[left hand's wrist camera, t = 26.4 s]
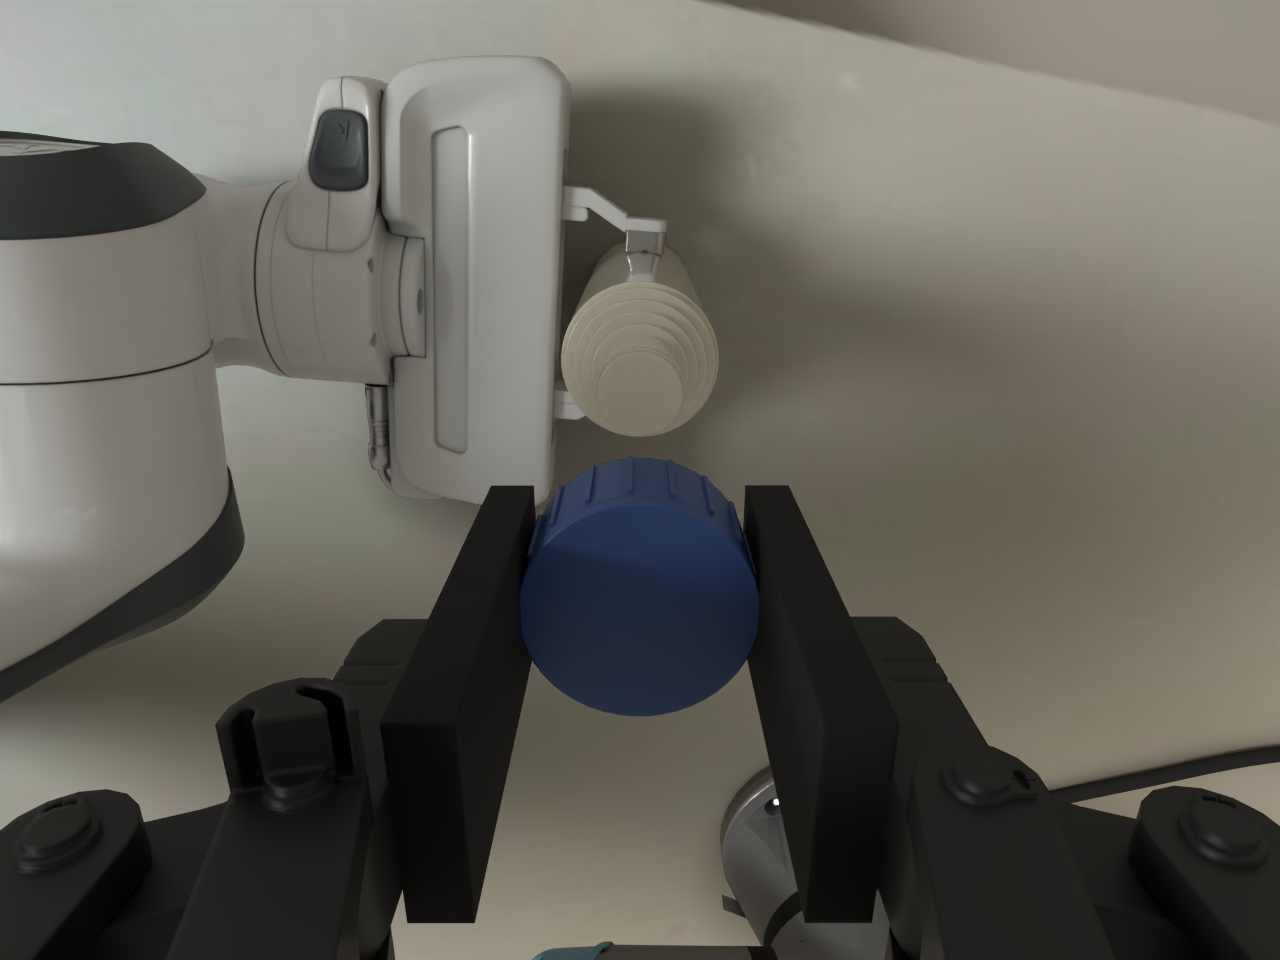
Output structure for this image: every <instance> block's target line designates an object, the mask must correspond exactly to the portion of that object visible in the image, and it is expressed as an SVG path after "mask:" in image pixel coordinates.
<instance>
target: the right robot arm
mask: <svg viewBox="0 0 1280 960" xmlns="http://www.w3.org/2000/svg"><path fill="white" fill-rule="evenodd" d="M570 113H571V85H570V83H569V81H568V79H567V78H566V76H565V75H564V74H563V72H562V71H561V70H560V69H559V68H558V67H557V66H556V65H555V64H554V63H553V62H552V61H550V60H548V59H545V58H540V57H530V56H510V55H484V56H463V57H452V58H442V59H434V60H427V61H423V62H419V63H416V64H413V65H411V66H409V67H407V68H405V69H403V70H402V71H400V72H399V73H398V74H397V75H396V76H395V77H394V78H393V79H392V80H391V81H390V83H389V84H388V83H385V82H383V81H380V80H376V79H372V78H367V77H359V76H341V77H335V78H331V79H329V80H327V81H326V82H325V83H324V84H323V86H322V87H321V90H320V92H319V95H318V99H317V102H316V106H315V111H314V115H313V119H312V124H311V128H310V132H309V136H308V140H307V144H306V149H305V153H304V157H303V160H302V164H301V168H300V172H299V175H298V179H297V182H296V181H275V182H270V183H266V184H262V185H257V186H234V185H230V184H226V183H223V182H220V181H217V180H215V179H212V178H210V177H207V176H204V175H200V174H195V173H191V172H189V171H188V170H187V169H186V168H184V167H183V166H182V165H180V164H179V163H177V162H176V161H174V160H173V159H172V158H170V157H169V156H167V155H166V154H164V153H163V152H162V151H160V150H159V149H157V148H156V147H154V146H153V145H151V144H147V143H138V142H130V143H116V144H111V143H100V142H90V141H81V140H73V139H65V138H59V137H52V136H45V135H38V134H30V133H21V132H10V131H0V703H2V702H3V701H5V700H7V699H9V698H10V697H12V696H14V695H16V694H17V693H19V692H21V691H23V690H24V689H26V688H28V687H30V686H31V685H33V684H35V683H37V682H39V681H40V680H42V679H44V678H46V677H47V676H49V675H51V674H53V673H54V672H56V671H58V670H60V669H61V668H63V667H65V666H67V665H69V664H71V663H72V662H74V661H76V660H78V659H81V658H83V657H85V656H87V655H90V654H92V653H95V652H98V651H100V650H103V649H106V648H108V647H111V646H114V645H117V644H120V643H122V642H125V641H128V640H131V639H133V638H136V637H139V636H141V635H144V634H146V633H149V632H151V631H154V630H156V629H159V628H161V627H163V626H165V625H167V624H169V623H171V622H173V621H175V620H177V619H179V618H180V617H182V616H183V615H185V614H186V613H188V612H189V611H191V610H192V609H193V608H195V607H196V606H197V605H198V604H199V603H201V602H202V601H203V600H204V599H205V598H206V597H207V596H208V595H209V594H210V593H211V592H212V591H213V590H214V589H215V588H216V587H217V586H218V585H219V583H220V582H221V581H222V580H223V579H224V578H225V576H226V575H227V574H228V572H229V571H230V570H231V568H232V567H233V566H234V564H235V563H236V562H237V560H238V558H239V557H240V555H241V552H242V550H243V546H244V540H245V537H244V531H243V526H242V522H241V517H240V513H239V508H238V504H237V499H236V494H235V490H234V485H233V481H232V476H231V472H230V469H229V467H228V466H227V461H226V453H225V445H224V436H223V428H222V420H221V411H220V403H219V395H218V386H217V378H216V370H215V369H216V368H221V367H225V366H231V365H245V366H252V367H257V368H260V369H263V370H265V371H268V372H270V373H273V374H276V375H279V376H285V377H291V378H303V379H316V380H328V381H341V382H355V383H365V387H366V388H365V395H366V410H367V418H368V424H369V432H370V442H369V445H368V455H369V461H370V465H371V467H372V468H373V469H375V470H378V473H379V476H380V478H381V480H382V481H383V483H384V484H385V485H386V486H387V487H388V488H389V489H390V490H392V492H393V493H394V494H396V495H398V496H401V497H405V498H416V499H429V500H434V499H441V498H445V497H447V498H451V499H455V500H460V501H464V502H469V503H474V504H479V505H482V504H483V502H484V499H485V497H486V495H487V493H488V491H489V489H490V487H491V486H509V485H534V496H535V506H537V505H538V504H540V503H541V502H543V501H544V500H546V499H547V498H548V496H549V494H550V491H551V488H552V484H553V479H554V469H555V447H556V425H557V418H558V419H571V420H578V419H580V418H582V417H584V416H586V415H585V414H584V413H583V412H582V411H581V410H580V409H579V408H578V406H577V405H576V404H575V402H574V401H573V399H572V398H571V396H570V394H569V392H568V389H567V387H566V385H565V381H564V380H560V379H559V358H560V336H561V314H562V292H563V269H564V247H565V225H566V220H572V221H586V220H587V219H588V218H589V217H590V211H591V209H592V210H593V211H594V212H596V213H597V214H599V215H600V216H602V217H603V218H604V219H606V220H607V221H609V222H610V223H612V224H613V225H614V226H616V227H617V228H619V229H620V230H622V231H623V232H624V233H625V232H626V244H625V252H633V253H641V252H642V251H644V250H646V251H647V252H648V253H651V254H658V255H661V254H664V247H665V237H666V226H667V220H666V219H660V218H649V217H637V216H628V213H627V212H626V211H624V210H623V209H622V208H620V207H619V206H617V205H616V204H615V203H613V202H612V201H610V200H609V199H608V198H606V197H605V196H603V195H602V194H601V193H599V192H598V191H597V190H595V189H594V188H592V187H581V186H570V185H567V180H568V158H569V136H570ZM389 468H390V470H391V478H390V477H389V475H388V474H387V471H386V469H389Z"/></svg>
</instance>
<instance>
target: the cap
mask: <svg viewBox="0 0 1280 960" xmlns="http://www.w3.org/2000/svg"><path fill="white" fill-rule="evenodd" d="M526 557H528V561H527V565H526V569H525V572H524V576H523V579H522V583H521V587H520V609H521V626H522V639H523V642H524V644H525V647H526V649H527V651H528V653H529V655H530V657H531V658H532V660H533V662H534V664H535V665H536V666H537V668H538V669H539V670H540V672H541V673H542V674H543V675H544V676H545V677H546V678H547V679H548V680H549V681H550V682H551V683H552V684H553V685H554V686H555V687H557V688H558V689H559V690H560V691H562V692H563V693H564V694H566V695H567V696H569V697H571V698H572V699H574V700H576V701H578V702H580V703H582V704H584V705H586V706H588V707H591V708H594V709H597V710H600V711H603V712H608V713H612V714H617V715H626V716H653V715H661V714H666V713H671V712H675V711H679V710H681V709H684V708H687V707H690V706H692V705H695V704H697V703H699V702H701V701H703V700H705V699H706V698H708V697H709V696H711V695H713V694H714V693H716V692H717V691H718V690H720V689H721V688H722V687H723V686H724V685H726V684H727V683H728V682H729V681H730V680H731V679H732V678H733V677H734V676H735V675H736V674H737V672H738V671H739V670H740V668H741V667H742V666H743V664H744V663H745V661H746V660H747V658H748V656H749V654H750V652H751V650H752V648H753V646H754V643H755V640H756V638H757V632H758V617H759V598H760V593H759V589H758V585H757V581H756V570H755V567H754V563H753V560H752V556H751V553H750V549H749V546H748V542H747V539H746V535H745V534H743V532H742V528H741V525H740V522H739V520H738V518H737V514H736V511H735V507H734V504H733V502H732V501H730V502H728V500H727V499H726V498H725V497H724V495H723V494H722V493H721V492H720V491H719V490H718V489H717V488H716V487H715V486H714V485H713V484H712V483H711V482H709V481H708V477H706V476H705V475H704V476H703V477H702V476H701V475H699V474H697V473H696V472H694V471H692V470H690V469H688V468H686V467H683V466H681V465H678V464H675V463H673V461H672V460H668V461H664V460H660V459H651V458H633V456H629V457H628V458H627V459H620V460H614V461H611V462H607V463H603V464H600V465H598V466H595V465H592V466H590V469H588V470H587V471H585V472H583V473H581V474H579V475H578V476H576V477H575V478H574V479H572V480H571V481H570V482H568V483H567V484H566V485H565V486H564V487H563V486H562V485H561V486H560V487H559V488H558V491H557V494H556V495H555V496H554V497H553V499H552V500H551V501H550V503H549V504H548V506H547V507H546V509H545V511H544V513H543V514H542V515H540V514H539V515H538V517H537V521H536V524H535V528H534V531H533V534H532V538H531V541H530V545H529V548H528V552H527V555H526Z"/></svg>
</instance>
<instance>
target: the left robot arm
mask: <svg viewBox="0 0 1280 960" xmlns="http://www.w3.org/2000/svg"><path fill="white" fill-rule="evenodd" d="M535 524H536V516H535V496H534V485H509V486H491V487H490V489H489V491H488V493H487V495H486V497H485V499H484V502H483V504H482V506H481V508H480V510H479V512H478V514H477V517H476V519H475V521H474V523H473V525H472V527H471V529H470V531H469V534H468V536H467V538H466V540H465V542H464V544H463V546H462V549H461V551H460V553H459V555H458V557H457V559H456V561H455V563H454V566H453V568H452V570H451V572H450V574H449V576H448V578H447V581H446V583H445V585H444V587H443V589H442V591H441V593H440V595H439V598H438V600H437V602H436V604H435V606H434V608H433V610H432V613H431V615H430V617H429V619H383V620H382V621H381V622H379V623H378V624H377V625H375V626H374V627H373V628H371V629H370V630H369V631H367V632H366V633H365V634H363V635H362V636H361V637H359V638H358V639H357V640H356V642H355V644H354V645H353V647H352V649H351V650H350V652H349V654H348V655H347V657H346V659H345V660H344V666H341V667H340V669H339V670H338V672H337V674H336V675H335V677H334V679H333V680H329V679H326V678H299V679H294V680H289V681H284V682H279V683H274V684H272V685H269V686H267V687H265V688H262V689H260V690H257V691H255V692H252V693H250V694H248V695H247V696H245V697H244V698H242V699H241V700H239V701H238V702H237V703H235V704H234V705H232V706H231V707H229V708H228V709H227V710H226V712H225V713H224V714H223V716H222V717H221V718H220V719H219V721H218V722H217V723H216V725H215V726H216V731H217V735H218V739H219V744H220V748H221V752H222V757H223V761H224V766H225V770H226V774H227V779H228V783H229V787H230V792H231V793H230V796H229V798H228V801H226V802H224V803H221V804H218V805H215V806H211V807H208V808H205V809H201V810H197V811H192V812H188V813H184V814H179V815H175V816H170V817H166V818H162V819H157V820H153V821H148V822H144V821H143V817H142V814H141V810H140V807H139V805H138V804H137V803H136V802H135V801H134V800H133V799H132V798H131V797H130V796H129V795H128V794H126V793H121V792H116V791H112V790H107V789H105V790H94V791H84V792H77V793H74V794H71V795H67V796H64V797H61V798H58V799H55V800H51V801H48V802H46V803H44V804H42V805H40V806H38V807H36V808H34V809H32V810H30V811H28V812H27V813H25V814H23V815H21V816H19V817H17V818H16V819H14V820H13V821H12V822H10V823H9V824H8V825H7V826H5V827H4V828H3V829H1V830H0V960H395V954H394V946H393V939H392V933H391V923H392V920H393V917H394V914H395V911H396V908H397V905H398V902H399V898H400V895H401V892H402V889H403V895H404V902H405V909H406V916H407V923H475V919H476V914H477V910H478V905H479V901H480V896H481V891H482V887H483V882H484V878H485V873H486V869H487V864H488V859H489V855H490V850H491V846H492V841H493V837H494V832H495V827H496V823H497V818H498V814H499V809H500V805H501V800H502V795H503V791H504V786H505V782H506V777H507V772H508V768H509V763H510V759H511V754H512V750H513V745H514V740H515V736H516V731H517V727H518V722H519V718H520V713H521V708H522V704H523V699H524V695H525V690H526V685H527V681H528V676H529V672H530V667H531V663H532V658H531V657H530V655H529V653H528V651H527V649H526V647H525V644H524V642H523V639H522V626H521V609H520V587H521V583H522V579H523V576H524V572H525V569H526V565H527V561H528V557H526V555H527V552H528V548H529V545H530V541H531V538H532V534H533V531H534V528H535ZM743 534H745V535H746V539H747V542H748V546H749V549H750V553H751V556H752V560H753V563H754V567H755V570H756V581H757V585H758V589H759V593H760V598H759V617H758V632H757V638H756V640H755V643H754V646H753V648H752V650H751V652H750V654H749V656H748V658H747V660H748V665H749V669H750V674H751V679H752V683H753V688H754V692H755V697H756V702H757V706H758V711H759V715H760V720H761V724H762V729H763V734H764V738H765V743H766V747H767V752H768V756H769V761H770V766H768V767H767V768H765V769H764V770H762V771H760V772H759V773H758V774H756V775H755V776H754V777H753V778H751V779H750V780H749V781H748V782H747V783H746V784H745V785H744V786H743V787H742V788H741V789H740V790H739V791H738V793H737V794H736V796H735V797H734V798H733V800H732V801H731V803H730V805H729V807H728V809H727V811H726V813H725V816H724V819H723V823H722V828H721V839H720V841H721V851H722V859H723V867H724V872H725V876H726V879H727V881H728V884H729V886H730V888H731V890H732V892H733V894H734V896H735V898H736V899H737V900H734V899H732V898H729V897H727V896H724V895H722V900H723V908H724V910H727V911H729V912H732V913H734V914H737V915H739V916H742V917H745V918H747V920H748V922H749V923H750V925H751V927H752V929H753V931H754V933H755V934H756V936H757V938H758V940H759V942H760V944H761V945H762V946H675V945H615V944H613V943H612V942H608V941H607V942H602V943H600V944H598V945H597V946H590V947H572V948H554V949H549V950H546V951H544V952H542V953H540V954H538V955H537V956H535V957H534V958H533V959H532V960H1280V826H1279V825H1278V824H1276V823H1275V822H1274V821H1272V820H1271V819H1270V818H1268V817H1267V816H1266V815H1264V814H1263V813H1261V812H1259V811H1257V810H1255V809H1253V808H1251V807H1249V806H1247V805H1245V804H1243V803H1242V802H1240V801H1238V800H1236V799H1234V798H1231V797H1228V796H1225V795H1222V794H1218V793H1215V792H1212V791H1208V790H1205V789H1202V788H1192V787H1181V786H1171V787H1166V788H1161V789H1157V790H1153V791H1152V792H1151V793H1150V794H1149V795H1148V796H1147V797H1145V798H1144V799H1143V800H1142V801H1141V804H1140V808H1139V811H1138V815H1137V819H1133V818H1129V817H1124V816H1120V815H1116V814H1111V813H1107V812H1102V811H1098V810H1093V809H1089V808H1085V807H1080V806H1077V805H1073V804H1070V803H1074V802H1078V801H1083V800H1088V799H1092V798H1097V797H1102V796H1107V795H1112V794H1117V793H1122V792H1127V791H1132V790H1136V789H1141V788H1146V787H1151V786H1155V785H1160V784H1165V783H1169V782H1174V781H1178V780H1183V779H1187V778H1192V777H1197V776H1201V775H1206V774H1211V773H1216V772H1220V771H1226V770H1231V769H1236V768H1242V767H1248V766H1254V765H1261V764H1268V763H1276V762H1280V746H1279V747H1270V748H1262V749H1256V750H1249V751H1243V752H1237V753H1231V754H1226V755H1220V756H1215V757H1210V758H1206V759H1201V760H1196V761H1192V762H1187V763H1183V764H1178V765H1174V766H1169V767H1165V768H1160V769H1155V770H1151V771H1146V772H1141V773H1137V774H1132V775H1127V776H1122V777H1118V778H1113V779H1108V780H1103V781H1098V782H1093V783H1089V784H1084V785H1079V786H1075V787H1070V788H1065V789H1061V790H1057V791H1052V792H1049V790H1048V789H1047V787H1046V786H1045V784H1044V783H1043V781H1042V780H1041V778H1040V777H1039V775H1038V774H1037V773H1036V772H1034V771H1033V770H1032V769H1031V768H1029V767H1028V766H1027V765H1026V764H1024V763H1023V762H1022V761H1021V760H1019V759H1018V758H1016V757H1014V756H1012V755H1010V754H1008V753H1005V752H1003V751H1001V750H999V749H997V748H995V747H992V746H988V744H987V742H986V741H985V739H984V738H983V736H982V734H981V733H980V731H979V729H978V728H977V726H976V724H975V723H974V721H973V719H972V718H971V716H970V714H969V713H968V711H967V709H966V708H965V706H964V704H963V703H962V701H961V699H960V698H959V696H958V694H957V693H956V691H955V689H954V688H953V686H952V685H951V683H948V681H947V676H946V675H945V673H944V671H943V670H942V668H941V666H940V665H939V663H936V658H935V656H934V655H933V653H932V651H931V650H930V648H929V646H928V645H927V643H926V641H925V640H924V638H923V636H921V635H920V634H919V633H917V632H916V631H915V630H913V629H912V628H911V627H909V626H908V625H907V624H905V623H904V622H903V621H901V620H900V619H899V618H897V617H850V616H849V614H848V612H847V609H846V607H845V605H844V603H843V601H842V599H841V597H840V595H839V592H838V590H837V588H836V586H835V584H834V582H833V580H832V577H831V575H830V573H829V571H828V569H827V567H826V565H825V563H824V560H823V558H822V556H821V554H820V552H819V550H818V548H817V545H816V543H815V541H814V539H813V537H812V535H811V533H810V530H809V528H808V526H807V524H806V522H805V520H804V518H803V516H802V513H801V511H800V509H799V507H798V505H797V503H796V501H795V498H794V496H793V494H792V492H791V490H790V488H789V486H745V506H744V525H743Z"/></svg>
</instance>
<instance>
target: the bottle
mask: <svg viewBox="0 0 1280 960" xmlns="http://www.w3.org/2000/svg"><path fill="white" fill-rule="evenodd" d="M625 244H626V241H624V242H621V243H619V244H617V245H615V246H613V247H612V248H610V249H609V250H608V251H607V252H606V253H605V254H604V255H603V256H602V257H601V258H600V259H599V261H598V262H597V264H596V266H595V268H594V270H593V272H592V274H591V277H590V279H589V281H588V283H587V286H586V288H585V290H584V292H583V295H582V297H581V299H580V301H579V304H578V306H577V308H576V310H575V313H574V315H573V317H572V319H571V322H570V324H569V326H568V329H567V331H566V334H565V336H564V341H563V345H562V352H561V367H562V373H563V378H564V381H565V385H566V387H567V389H568V392H569V394H570V396H571V398H572V399H573V401H574V402H575V404H576V405H577V406H578V408H579V409H580V410H581V411H582V412H583V413H584V414H585V415H586V416H587V417H588V418H589V419H590V420H592V421H593V422H594V423H596V424H597V425H599V426H601V427H603V428H604V429H607V430H609V431H612V432H614V433H617V434H621V435H625V436H633V437H647V436H655V435H659V434H663V433H666V432H669V431H671V430H674V429H675V428H677V427H679V426H681V425H683V424H684V423H686V422H687V421H688V420H690V419H691V418H692V417H693V416H694V415H695V414H696V413H697V412H698V411H699V410H700V409H701V408H702V407H703V405H704V404H705V402H706V401H707V399H708V398H709V396H710V394H711V392H712V390H713V388H714V385H715V381H716V378H717V373H718V368H719V352H718V345H717V340H716V336H715V334H714V331H713V328H712V326H711V324H710V321H709V319H708V317H707V315H706V312H705V310H704V308H703V306H702V303H701V301H700V299H699V297H698V295H697V292H696V290H695V288H694V286H693V283H692V281H691V279H690V277H689V274H688V272H687V270H686V268H685V266H684V264H683V262H682V261H681V260H680V258H679V257H678V256H677V255H676V254H675V253H674V252H673V251H672V250H671V249H670V248H668V247H667V246H665V247H664V254H661V255H658V254H651V253H648V252H647V251H646V250H644V251H642V252H641V253H633V252H625Z"/></svg>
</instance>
